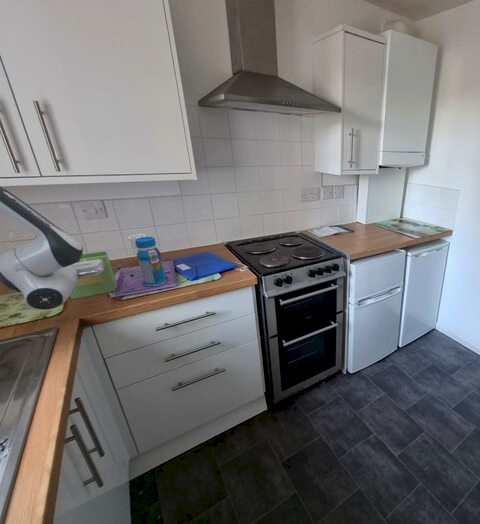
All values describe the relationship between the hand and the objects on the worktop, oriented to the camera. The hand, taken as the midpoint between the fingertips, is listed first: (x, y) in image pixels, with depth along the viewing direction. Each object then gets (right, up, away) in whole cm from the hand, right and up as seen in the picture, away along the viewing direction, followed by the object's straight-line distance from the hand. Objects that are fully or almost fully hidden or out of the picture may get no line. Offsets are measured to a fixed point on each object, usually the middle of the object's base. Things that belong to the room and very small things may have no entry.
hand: (69, 264), depth 104 cm
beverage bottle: (+14, -8, +25) cm, 30 cm away
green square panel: (-5, -12, +16) cm, 21 cm away
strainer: (-6, 0, +46) cm, 47 cm away
